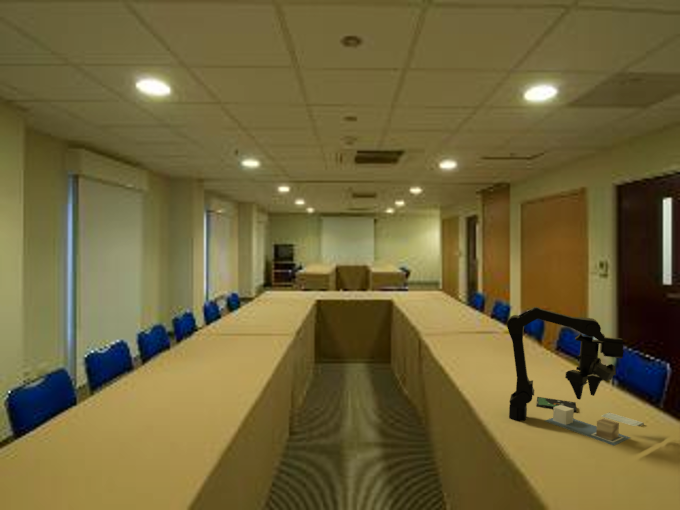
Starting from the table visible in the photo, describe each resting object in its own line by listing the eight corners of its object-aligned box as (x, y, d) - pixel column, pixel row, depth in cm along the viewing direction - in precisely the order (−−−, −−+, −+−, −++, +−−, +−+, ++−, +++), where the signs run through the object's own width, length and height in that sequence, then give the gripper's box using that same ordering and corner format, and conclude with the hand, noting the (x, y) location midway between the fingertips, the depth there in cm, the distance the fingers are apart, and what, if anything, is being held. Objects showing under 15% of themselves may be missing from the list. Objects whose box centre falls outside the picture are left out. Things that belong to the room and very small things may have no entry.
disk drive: (575, 408, 197) (536, 402, 203) (575, 402, 197) (536, 396, 203) (576, 417, 187) (536, 410, 193) (577, 410, 187) (536, 403, 193)
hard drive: (599, 416, 184) (634, 426, 174) (609, 412, 189) (644, 421, 179) (599, 420, 184) (634, 431, 174) (609, 416, 189) (643, 426, 179)
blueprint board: (613, 448, 157) (614, 445, 157) (543, 423, 178) (543, 420, 178) (630, 440, 164) (630, 437, 164) (561, 417, 185) (561, 414, 185)
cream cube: (565, 424, 175) (566, 411, 174) (552, 420, 179) (553, 407, 178) (573, 422, 177) (573, 408, 177) (560, 417, 182) (560, 404, 181)
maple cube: (611, 440, 162) (611, 425, 161) (596, 435, 166) (596, 421, 165) (618, 437, 164) (619, 422, 164) (603, 432, 168) (604, 418, 168)
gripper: (598, 362, 158) (594, 408, 159) (625, 356, 169) (622, 400, 169) (566, 354, 168) (562, 398, 168) (594, 349, 178) (591, 391, 179)
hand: (585, 397), depth 171 cm, fingers open, 9 cm apart
